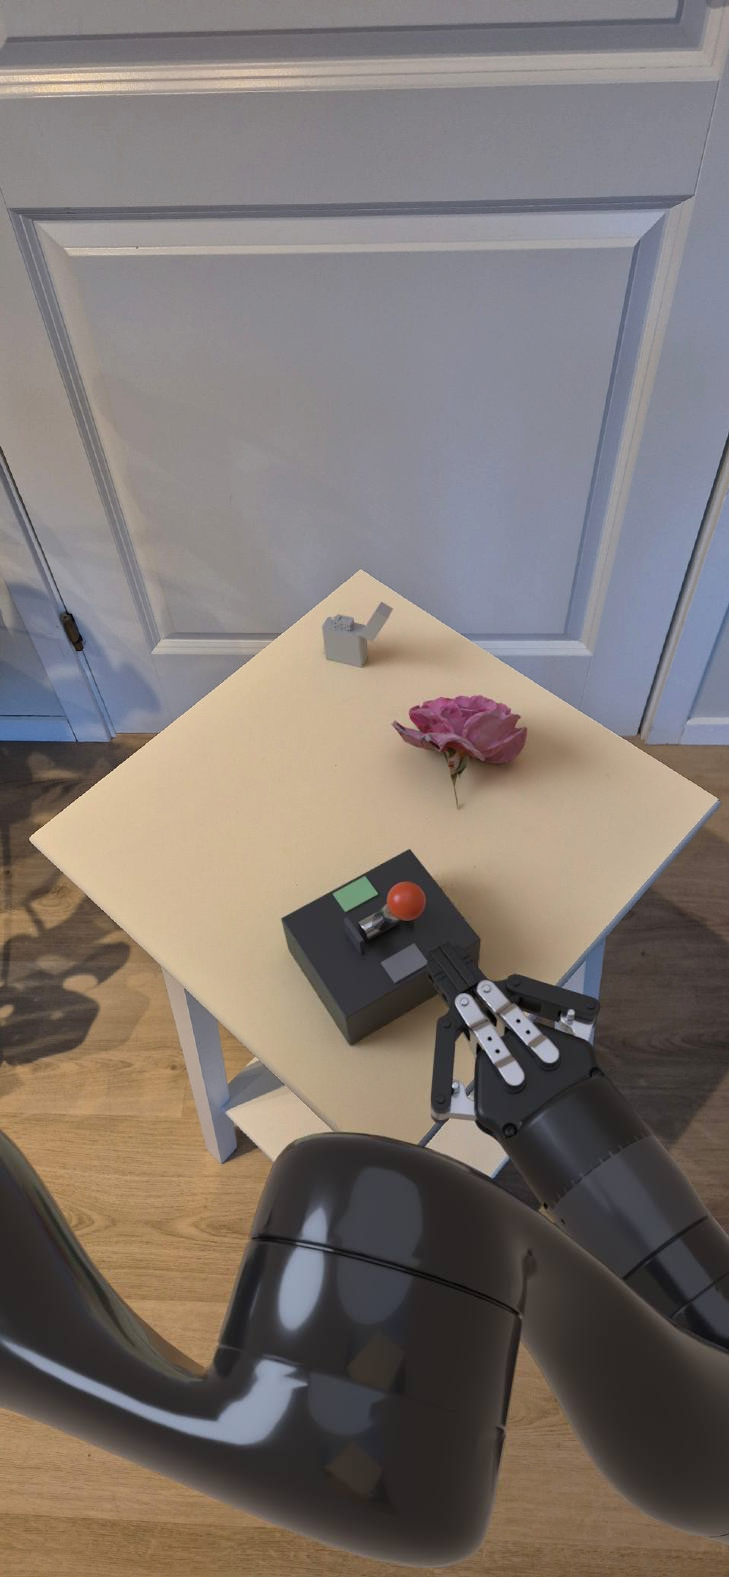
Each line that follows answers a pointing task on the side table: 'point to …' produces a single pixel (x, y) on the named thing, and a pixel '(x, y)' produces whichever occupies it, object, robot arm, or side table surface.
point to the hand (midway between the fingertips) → (436, 952)
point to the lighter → (352, 636)
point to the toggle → (394, 910)
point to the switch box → (374, 947)
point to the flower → (465, 731)
